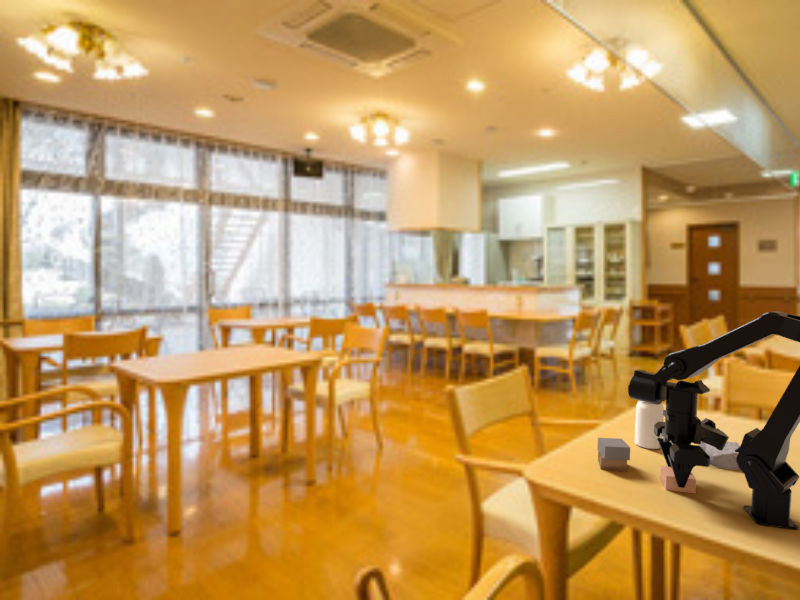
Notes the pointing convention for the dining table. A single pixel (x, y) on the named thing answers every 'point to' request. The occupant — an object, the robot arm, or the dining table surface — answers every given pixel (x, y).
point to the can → (647, 424)
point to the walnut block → (612, 464)
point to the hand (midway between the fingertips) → (677, 481)
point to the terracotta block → (670, 481)
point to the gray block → (613, 449)
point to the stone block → (722, 455)
